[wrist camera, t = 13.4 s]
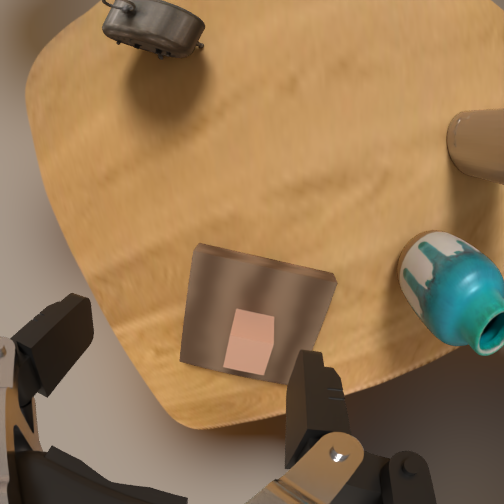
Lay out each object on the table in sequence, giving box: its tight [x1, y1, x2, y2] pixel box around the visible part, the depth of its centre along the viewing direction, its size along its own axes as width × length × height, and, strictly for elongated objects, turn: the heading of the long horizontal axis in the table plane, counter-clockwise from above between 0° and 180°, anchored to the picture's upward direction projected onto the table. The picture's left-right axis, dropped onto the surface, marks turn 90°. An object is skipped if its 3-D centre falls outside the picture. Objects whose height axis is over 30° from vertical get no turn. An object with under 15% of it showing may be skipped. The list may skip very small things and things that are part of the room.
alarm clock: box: [102, 0, 205, 60], centre depth 23 cm, size 11×5×16 cm, turn 65°
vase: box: [397, 230, 504, 356], centre depth 29 cm, size 11×11×19 cm
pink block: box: [223, 309, 274, 375], centre depth 37 cm, size 5×5×6 cm
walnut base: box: [180, 243, 337, 385], centre depth 41 cm, size 18×18×3 cm
